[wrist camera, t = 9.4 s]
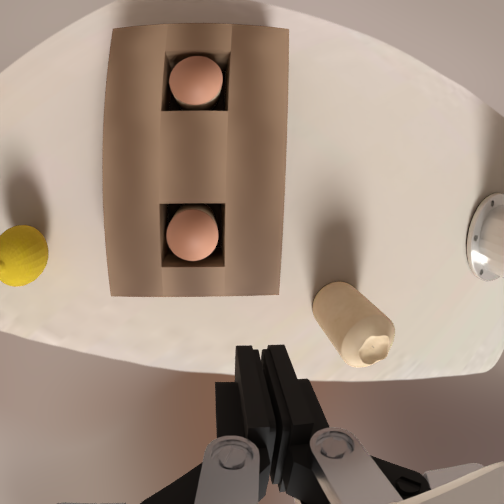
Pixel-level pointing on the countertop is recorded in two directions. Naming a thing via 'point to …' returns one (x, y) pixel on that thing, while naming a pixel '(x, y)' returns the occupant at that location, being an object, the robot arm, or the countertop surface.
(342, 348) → the candle
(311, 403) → the robot arm
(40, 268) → the lemon
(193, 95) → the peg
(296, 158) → the countertop surface
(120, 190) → the block
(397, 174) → the countertop surface
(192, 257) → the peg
